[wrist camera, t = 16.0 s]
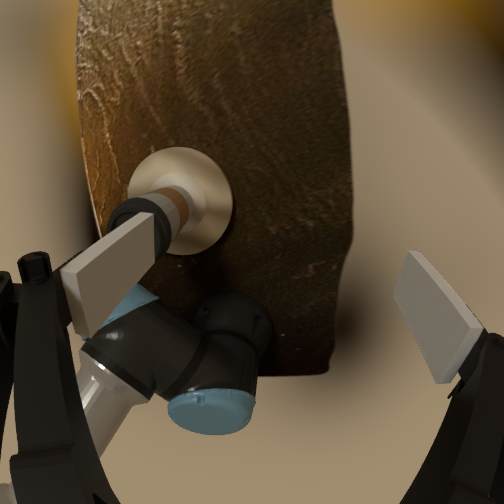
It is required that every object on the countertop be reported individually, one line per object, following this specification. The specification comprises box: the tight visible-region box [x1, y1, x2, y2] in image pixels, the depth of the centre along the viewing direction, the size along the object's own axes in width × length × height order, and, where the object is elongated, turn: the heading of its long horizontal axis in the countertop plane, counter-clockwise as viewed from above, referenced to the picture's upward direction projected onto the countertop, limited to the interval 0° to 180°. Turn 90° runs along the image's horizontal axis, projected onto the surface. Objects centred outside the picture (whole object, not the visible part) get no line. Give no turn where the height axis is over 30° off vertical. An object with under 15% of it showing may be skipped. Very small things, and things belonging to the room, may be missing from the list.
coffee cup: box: [107, 185, 193, 262], centre depth 38 cm, size 8×8×15 cm
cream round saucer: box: [128, 147, 233, 255], centre depth 46 cm, size 18×18×2 cm
